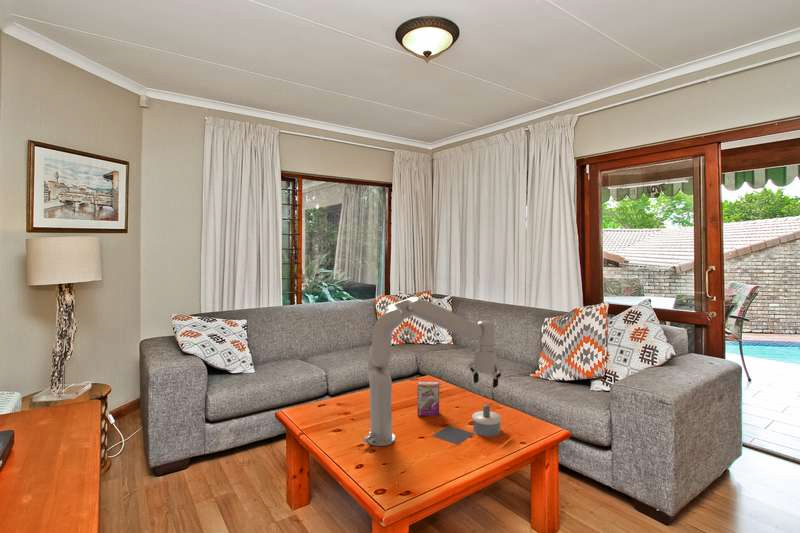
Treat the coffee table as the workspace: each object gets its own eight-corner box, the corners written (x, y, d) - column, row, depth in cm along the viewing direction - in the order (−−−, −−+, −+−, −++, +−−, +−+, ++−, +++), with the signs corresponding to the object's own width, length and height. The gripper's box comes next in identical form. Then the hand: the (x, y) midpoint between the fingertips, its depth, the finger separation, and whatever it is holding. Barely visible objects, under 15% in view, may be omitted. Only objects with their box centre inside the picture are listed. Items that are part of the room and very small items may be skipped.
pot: (492, 440, 183) (492, 426, 183) (468, 432, 190) (468, 420, 190) (504, 430, 192) (504, 418, 192) (481, 424, 200) (481, 411, 199)
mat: (458, 446, 178) (458, 444, 178) (431, 437, 187) (431, 435, 187) (474, 434, 188) (474, 433, 188) (448, 426, 197) (448, 425, 197)
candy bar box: (417, 416, 210) (417, 384, 210) (418, 412, 215) (417, 381, 215) (439, 416, 209) (439, 384, 209) (439, 413, 214) (439, 381, 214)
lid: (492, 427, 182) (492, 413, 182) (467, 420, 190) (466, 406, 190) (505, 417, 192) (505, 404, 192) (480, 411, 200) (480, 398, 200)
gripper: (465, 346, 192) (465, 382, 193) (499, 352, 181) (499, 390, 182) (473, 343, 198) (473, 379, 199) (507, 349, 187) (506, 386, 188)
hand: (485, 384), depth 190 cm, fingers open, 9 cm apart
